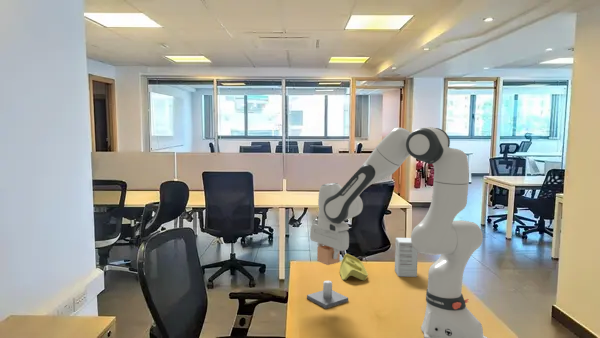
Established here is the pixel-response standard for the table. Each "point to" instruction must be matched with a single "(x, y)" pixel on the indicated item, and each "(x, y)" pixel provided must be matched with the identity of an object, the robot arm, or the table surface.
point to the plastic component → (352, 268)
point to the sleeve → (326, 255)
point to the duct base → (328, 300)
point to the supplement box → (405, 258)
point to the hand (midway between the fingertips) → (328, 256)
